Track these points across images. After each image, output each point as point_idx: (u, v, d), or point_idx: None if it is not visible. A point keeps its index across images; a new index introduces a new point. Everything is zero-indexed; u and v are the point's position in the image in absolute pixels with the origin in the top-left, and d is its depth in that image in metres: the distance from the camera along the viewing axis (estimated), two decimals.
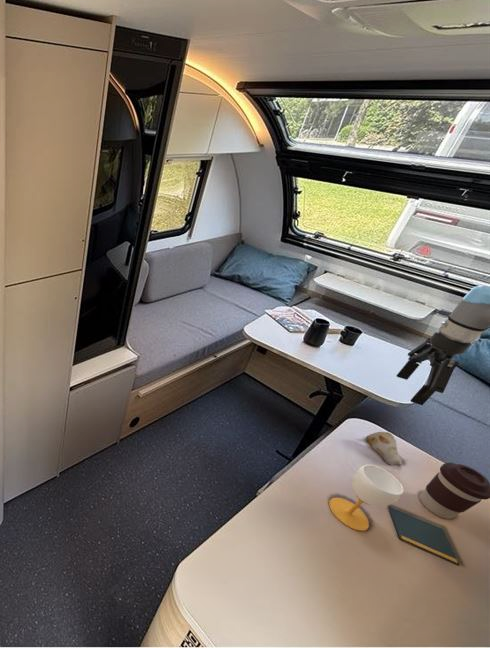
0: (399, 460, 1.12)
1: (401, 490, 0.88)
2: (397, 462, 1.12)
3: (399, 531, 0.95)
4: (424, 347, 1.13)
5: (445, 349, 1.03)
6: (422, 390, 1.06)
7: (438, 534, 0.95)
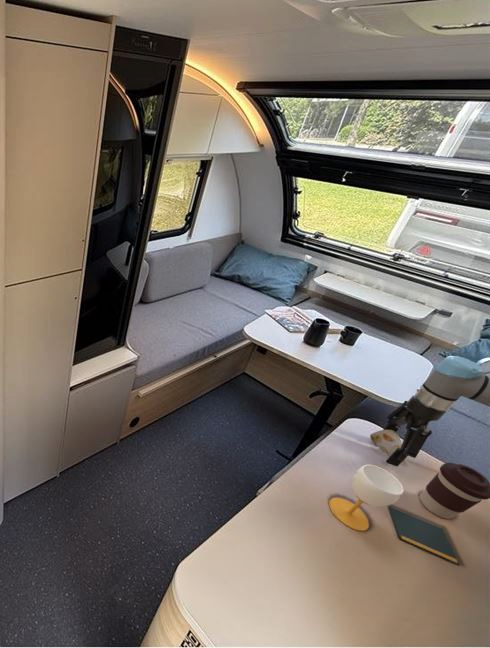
0: None
1: (401, 490, 0.88)
2: None
3: (399, 531, 0.95)
4: (402, 410, 1.15)
5: (421, 415, 1.05)
6: (396, 453, 1.10)
7: (438, 534, 0.95)
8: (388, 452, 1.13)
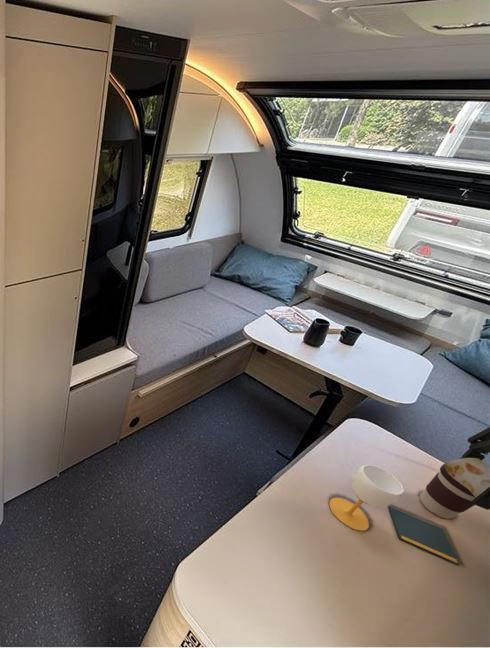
0: None
1: (401, 490, 0.88)
2: None
3: (399, 531, 0.95)
4: None
5: None
6: (489, 492, 0.80)
7: (438, 534, 0.95)
8: (474, 489, 0.83)
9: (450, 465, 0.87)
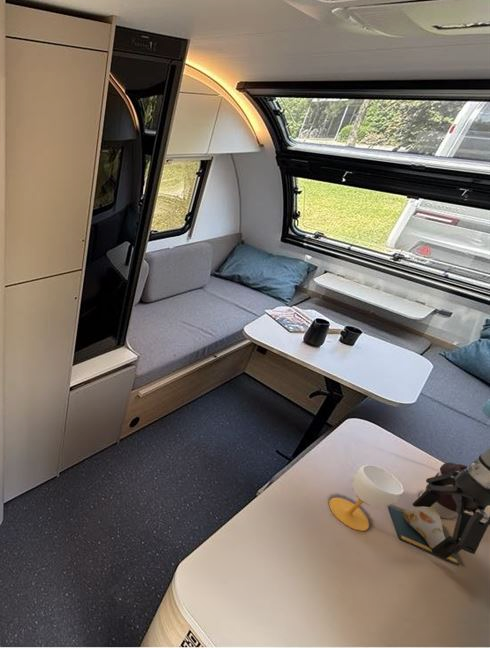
0: None
1: (401, 490, 0.88)
2: None
3: (399, 531, 0.95)
4: (447, 479, 0.92)
5: (476, 498, 0.82)
6: (447, 542, 0.86)
7: None
8: (426, 536, 0.92)
9: (406, 512, 0.95)
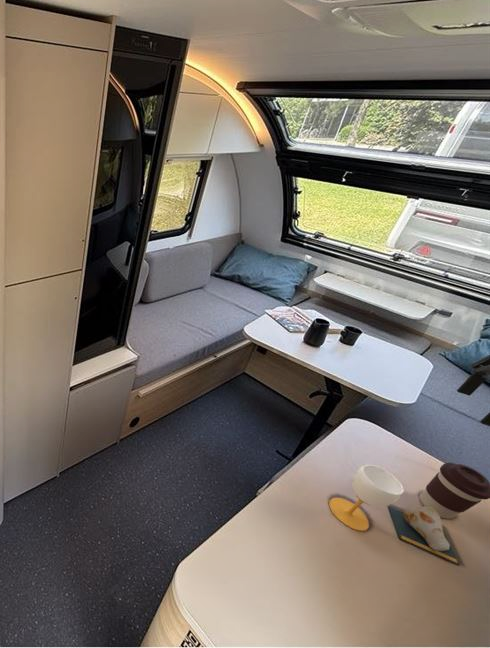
0: (447, 546, 0.89)
1: (401, 490, 0.88)
2: (444, 549, 0.89)
3: (399, 531, 0.95)
4: None
5: None
6: None
7: None
8: (426, 536, 0.92)
9: (406, 512, 0.95)
